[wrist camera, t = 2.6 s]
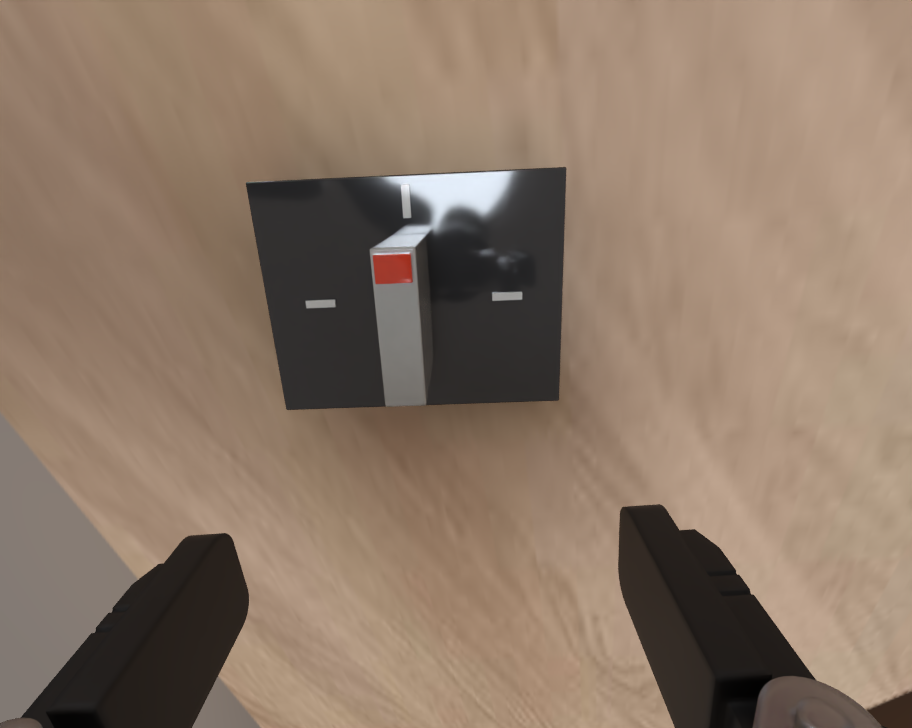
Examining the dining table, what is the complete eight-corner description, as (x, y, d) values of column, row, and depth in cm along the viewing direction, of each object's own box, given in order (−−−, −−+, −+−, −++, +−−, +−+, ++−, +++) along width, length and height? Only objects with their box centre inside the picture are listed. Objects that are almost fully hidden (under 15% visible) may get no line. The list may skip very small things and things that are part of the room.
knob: (434, 359, 24) (425, 408, 18) (401, 360, 24) (383, 410, 18) (426, 233, 22) (414, 247, 16) (391, 234, 22) (367, 249, 16)
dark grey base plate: (304, 388, 27) (285, 411, 24) (270, 183, 24) (243, 182, 21) (549, 379, 27) (559, 402, 24) (554, 169, 23) (567, 166, 20)
